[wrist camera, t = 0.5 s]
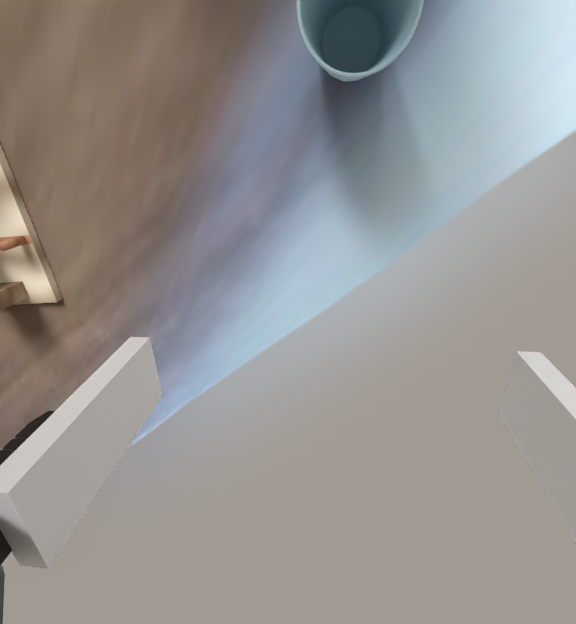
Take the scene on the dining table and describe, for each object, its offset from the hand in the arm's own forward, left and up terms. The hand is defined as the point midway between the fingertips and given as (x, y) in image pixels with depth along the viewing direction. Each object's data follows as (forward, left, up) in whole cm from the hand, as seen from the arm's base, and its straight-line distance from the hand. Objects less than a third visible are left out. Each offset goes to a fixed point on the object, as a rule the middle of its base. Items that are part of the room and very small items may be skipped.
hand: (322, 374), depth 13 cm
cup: (-15, +3, -28) cm, 32 cm away
